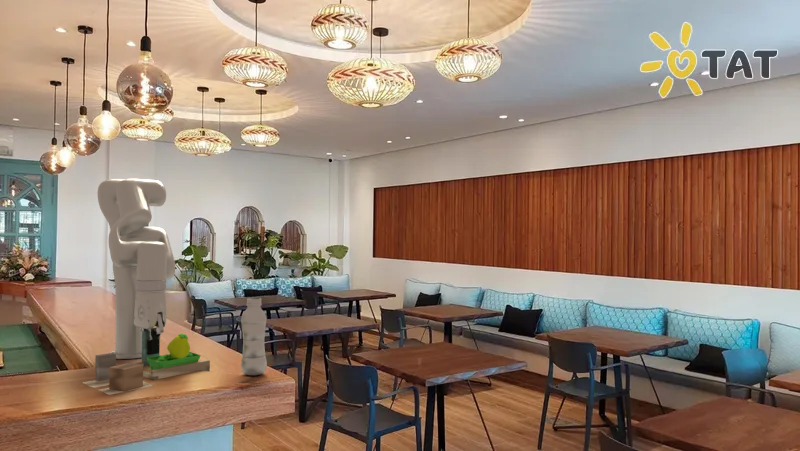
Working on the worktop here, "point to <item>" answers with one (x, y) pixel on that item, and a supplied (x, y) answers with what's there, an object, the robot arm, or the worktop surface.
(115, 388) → the walnut cube
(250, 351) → the plastic bottle
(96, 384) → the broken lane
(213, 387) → the worktop surface
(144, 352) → the wooden serving tray
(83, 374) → the worktop surface
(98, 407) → the worktop surface
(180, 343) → the fruit basket
